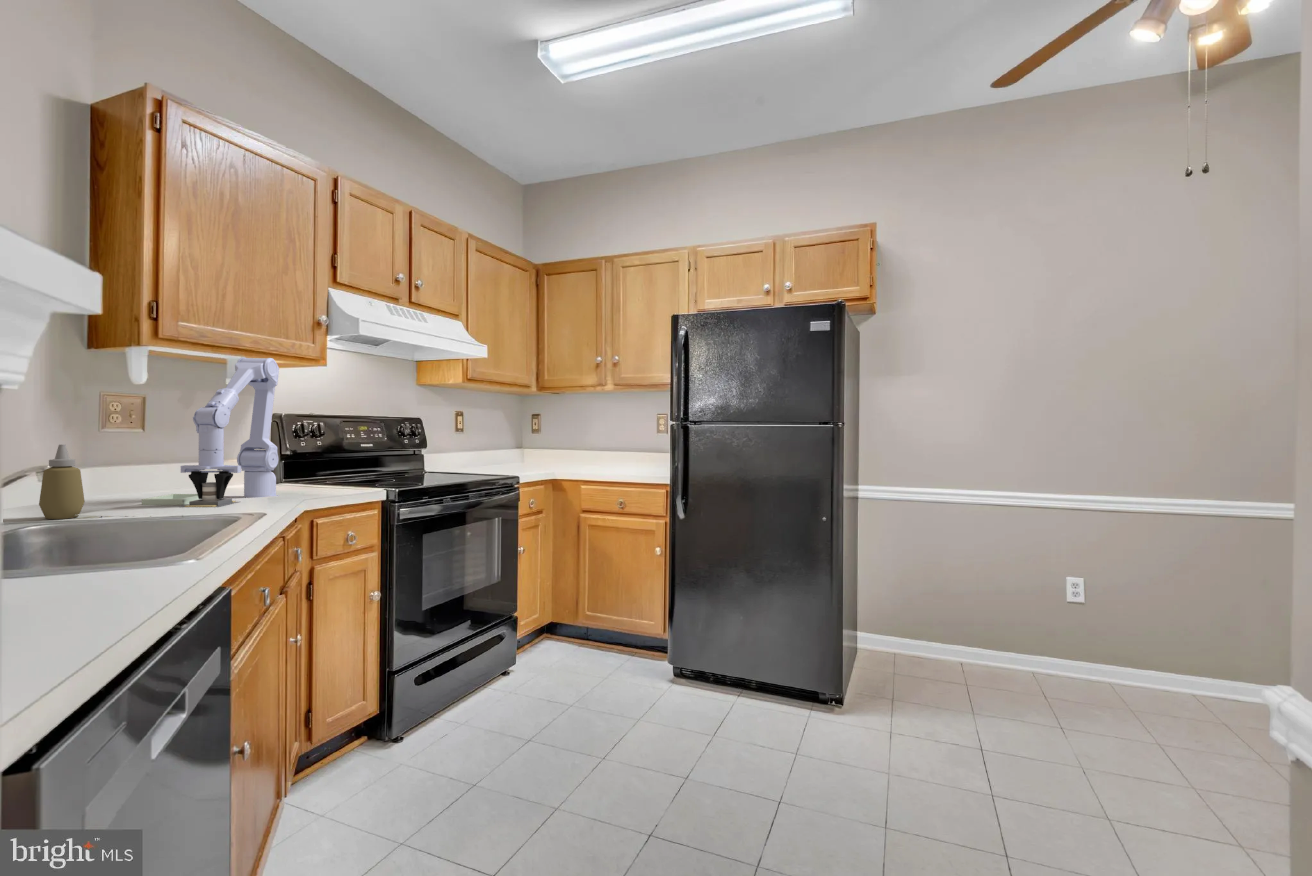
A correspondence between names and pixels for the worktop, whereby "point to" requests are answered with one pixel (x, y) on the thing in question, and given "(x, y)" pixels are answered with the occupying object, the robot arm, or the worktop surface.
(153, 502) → the parts tray
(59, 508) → the squeeze bottle
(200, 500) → the fuse holder
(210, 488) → the cylinder
